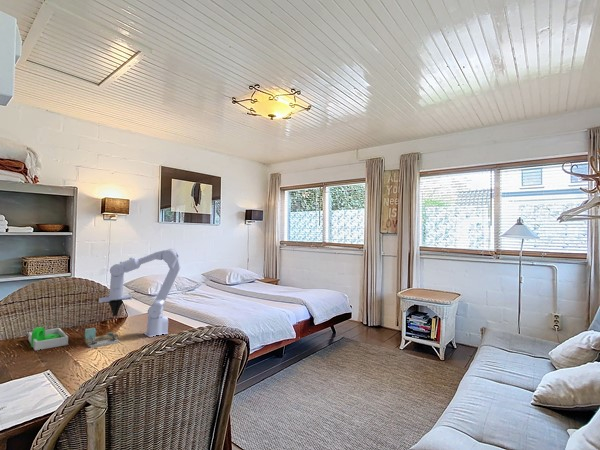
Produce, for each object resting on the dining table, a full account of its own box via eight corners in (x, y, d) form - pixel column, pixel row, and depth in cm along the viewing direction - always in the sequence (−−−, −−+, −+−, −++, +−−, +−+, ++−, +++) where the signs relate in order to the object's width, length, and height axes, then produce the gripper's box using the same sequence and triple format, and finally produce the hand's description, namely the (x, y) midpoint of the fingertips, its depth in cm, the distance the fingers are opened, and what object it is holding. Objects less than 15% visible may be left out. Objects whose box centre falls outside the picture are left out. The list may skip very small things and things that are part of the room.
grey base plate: (115, 337, 158) (116, 331, 158) (120, 340, 153) (121, 334, 154) (84, 342, 149) (85, 336, 149) (89, 346, 144) (89, 339, 144)
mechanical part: (45, 347, 141) (46, 329, 142) (30, 347, 141) (32, 329, 141) (62, 338, 153) (63, 321, 153) (48, 338, 152) (49, 321, 153)
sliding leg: (93, 338, 151) (94, 327, 151) (97, 342, 146) (98, 331, 147) (84, 339, 149) (85, 328, 149) (88, 343, 144) (89, 332, 144)
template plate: (115, 339, 154) (115, 337, 154) (118, 342, 151) (119, 340, 151) (87, 345, 146) (87, 342, 146) (90, 348, 142) (90, 345, 142)
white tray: (59, 335, 157) (59, 327, 157) (67, 344, 145) (68, 336, 145) (28, 340, 149) (28, 332, 149) (34, 350, 137) (35, 342, 137)
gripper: (129, 285, 169) (127, 311, 169) (97, 288, 159) (95, 315, 158) (134, 287, 165) (132, 314, 164) (102, 290, 154) (100, 318, 153)
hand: (114, 315), depth 161 cm, fingers closed
